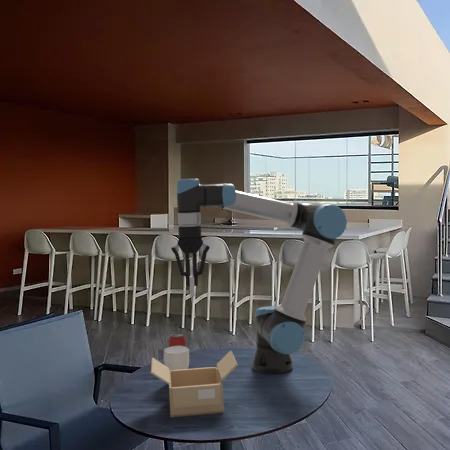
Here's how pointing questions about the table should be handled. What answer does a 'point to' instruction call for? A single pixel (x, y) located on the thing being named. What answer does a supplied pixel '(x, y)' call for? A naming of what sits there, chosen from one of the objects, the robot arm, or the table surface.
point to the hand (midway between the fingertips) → (192, 295)
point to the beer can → (177, 340)
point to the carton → (195, 392)
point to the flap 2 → (226, 364)
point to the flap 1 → (160, 371)
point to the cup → (176, 357)
